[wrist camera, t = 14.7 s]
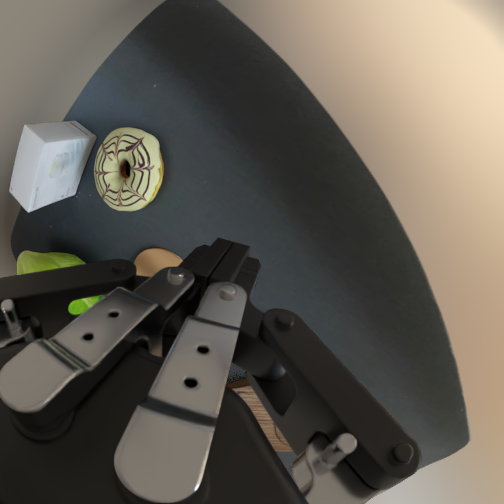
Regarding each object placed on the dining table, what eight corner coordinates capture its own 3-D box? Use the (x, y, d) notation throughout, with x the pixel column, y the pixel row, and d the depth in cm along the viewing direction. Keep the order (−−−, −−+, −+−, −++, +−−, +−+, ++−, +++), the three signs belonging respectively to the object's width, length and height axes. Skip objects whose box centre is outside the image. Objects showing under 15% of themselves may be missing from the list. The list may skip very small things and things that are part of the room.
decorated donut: (170, 124, 30) (155, 122, 26) (170, 208, 34) (156, 216, 30) (106, 131, 31) (88, 132, 28) (109, 205, 35) (92, 212, 32)
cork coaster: (141, 235, 36) (140, 236, 36) (203, 268, 36) (202, 270, 36) (129, 288, 40) (128, 289, 40) (183, 319, 40) (182, 321, 40)
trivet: (226, 440, 53) (224, 446, 52) (197, 372, 44) (193, 380, 43) (333, 444, 48) (333, 451, 46) (343, 375, 39) (344, 384, 37)
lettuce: (58, 213, 38) (10, 234, 25) (136, 291, 44) (111, 336, 31) (28, 267, 40) (-12, 297, 27) (98, 335, 46) (72, 380, 34)
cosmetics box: (76, 196, 36) (27, 215, 26) (55, 176, 35) (7, 190, 26) (99, 136, 32) (44, 142, 22) (75, 119, 31) (22, 122, 22)
